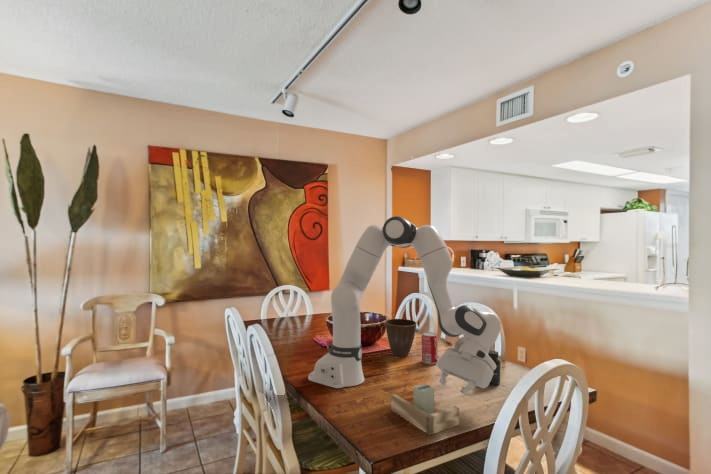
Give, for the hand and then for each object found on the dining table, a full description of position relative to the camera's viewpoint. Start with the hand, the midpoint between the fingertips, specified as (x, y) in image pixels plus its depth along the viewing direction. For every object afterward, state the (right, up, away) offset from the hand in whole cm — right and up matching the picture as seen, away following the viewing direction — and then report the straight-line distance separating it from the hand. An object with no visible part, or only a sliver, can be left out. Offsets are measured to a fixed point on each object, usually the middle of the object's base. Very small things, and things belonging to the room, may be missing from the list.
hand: (451, 388), depth 123 cm
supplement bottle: (+21, -7, +22) cm, 32 cm away
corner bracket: (-11, -6, -6) cm, 14 cm away
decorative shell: (+24, -7, +51) cm, 56 cm away
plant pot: (-10, -7, +55) cm, 57 cm away
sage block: (-11, -6, -6) cm, 14 cm away
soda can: (+2, -7, +45) cm, 45 cm away
